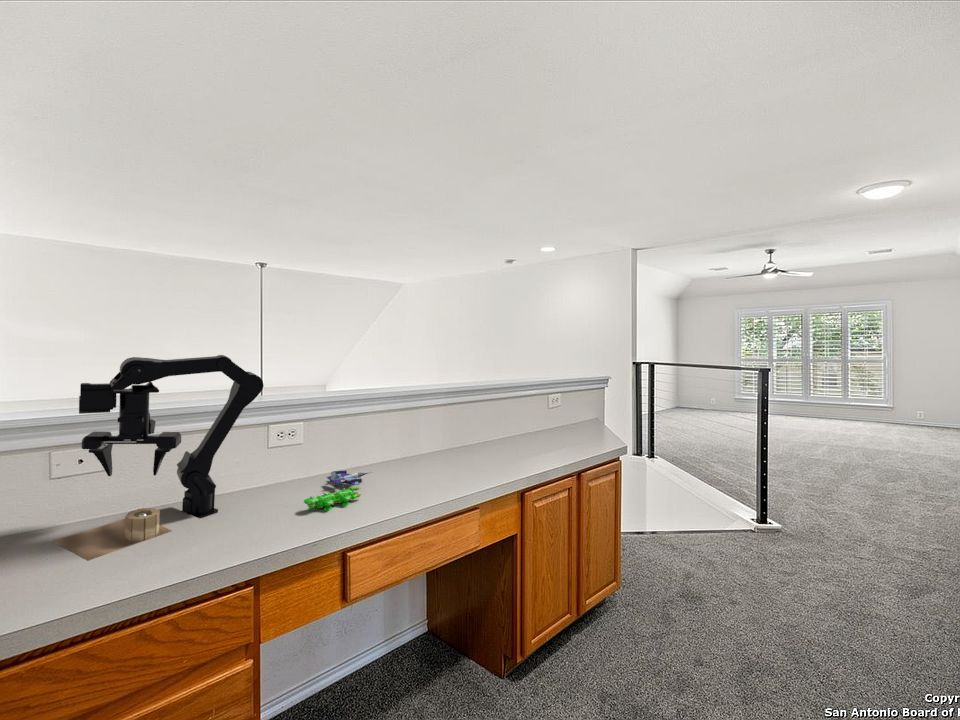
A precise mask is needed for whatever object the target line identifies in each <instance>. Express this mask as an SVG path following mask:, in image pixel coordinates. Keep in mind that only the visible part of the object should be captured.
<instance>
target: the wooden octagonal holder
mask: <svg viewBox="0 0 960 720" xmlns="http://www.w3.org/2000/svg"><path fill="white" fill-rule="evenodd" d="M141 513H146V514H147V515H148V516H145V517H138V516H139V515H140V514H141ZM160 514H161V511H160V510H159V509H156V508H153V507H147V508H146V507H145V508H137V509H134V510H131V511H130V512H127V514H125V518H124V519H125V539H127V540H129V541H143V540H145V541H148V540H151V539H153V538H156V537H155V536H157V534H158V533H159V525H160ZM157 537H158V536H157ZM143 542H144V541H143Z"/></svg>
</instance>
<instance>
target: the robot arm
mask: <svg viewBox="0 0 960 720" xmlns="http://www.w3.org/2000/svg"><path fill="white" fill-rule="evenodd" d="M215 372H216V373H217V372H218V373H219V372H220V373H223V375H225V376H227V377H228V378H229V379H230V380H232V381H233V383H232V385H231V388H230V391H229V395H228V399H227V400H226V403H225V404H224V406H223V407H222V409H221V411H220V412H219V414H218V415H217V417H216V418H215V420H214V421H213V424H212V425H211V426H210V428H209V429H208V431H207V433H206V434H205V436H204V437H203V439H202V440H201V442H200V444H199V445H198V447H197V448H196V449H195V450H194V451H192V452H191V453H190V452H189V451H188V450H187V451H185V452H184V454H183V456H182V458H181V460H180V461H179V462H178V463H177V464H176V466H177V470H176V475H177V478H178V479H179V482H180V484H181V485H182V487H184V488H186V489H187V490H185V491H184V495H183V497H182V509H181V512H182V513H184V514H185V513H186V514H188V515H190V516H192V517H195V518H197V519H201V518H204V517H207V516H209V515H212V514H214V513H218V512H219V509H218V508H216V507H215V499H216V498H215V495H216V494H215V493H216V489H217V485H216V484H215V482H214V481H213V479H212V477H211V476H210V471H211V468H212V465H213V460H214V458H215V455H216V454H217V452H218V450H219V448H220V447H221V445H222V444H223V442H225V440H226V437H227V435H228V434H229V433H230V431H231V430H232V428H233V426H234V425H235V423H236V421H237V420H238V418H239V416H241V413H242V412H243V410H244V409H245V408H246V407H247V406H249V405H250V404H251V403H252V402H253V401H254V400H255V399H256V398H257V397H258V396H259V395H260V393H262V391H263V389H264V384H265V383H264V381H263V379H262V378H261V377H260V376H259V375H257V374H255V373H253V372H252V371H246V370H244V369H243V368H241V367H240V365H238V364H237V363H235V362H233V361H232V359H231V358H230V357H228V356H226V355H225V354H217V355H214V356H201V357H188V358H187V357H185V358H174V359H159V358H152V357H150V358H149V357H141V356H140V357H137V356H133V357H128V358H126V359H124V360H123V361H122V362H121V363H120V366H119V371H118V373H116V375H115V376H114V377H113V378H111V380H110V381H109V383H90V382H82V383H80V388H79V389H80V390H79V391H80V393H79V396H78V398H79V399H78V414H79V415H81V414H82V415H83V414H101V413H103V414H104V413H111V410H114V409H116V408H117V394H119V415H118V416H119V417H117V423H119V424H118V435H112V433H111V431H92V432H90V433H89V434H87V435H86V436H84V437H83V438H82V440H81V449H82V450H88V453H89V454H90V453H91V454H93V455H94V456H95V458H97V460H98V462H99V463H100V464H101V465H102V467H103V470H104V472H105V473H106V475H107V477H112V475H113V458H112V457H113V455H112V450H113V445H156V446H155V447H157V448H156V449H155V450H154V455H153V456H154V457H153V467H152V471H153V476H157V475H158V472H159V469H160V468H161V465H162V462H163V460H164V457H165V456H166V454H167V453H170V452H171V451H172V450H174V449H177V447H178V446H179V445H180V444H181V443H182V434H181V433H180V432H179V431H162V432H161V433H160V434H159V435H154V434H155V429H156V420H155V419H153V418H151V413H150V393H151V394H152V393H153V394H154V393H155V394H156V393H160V389H159V388H158V386H155V385H154V384H153V382H155V381H157V380H161V379H163V378H167V377H174V376H175V377H176V376H184V375H185V376H186V375H197V374H208V373H215ZM130 386H131V387H130ZM129 387H130V388H129ZM151 434H153V435H151Z"/></svg>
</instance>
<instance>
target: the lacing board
mask: <svg viewBox="0 0 960 720" xmlns="http://www.w3.org/2000/svg"><path fill="white" fill-rule="evenodd" d="M170 532H173V530H172V529H170V528H167V527H165V526H163V525H161V524H159V533H158V534H157V536H155V537H154V538H156V537H159V536H163V535H165V534H168V533H170ZM145 541H146V540H143V541H129V540H127V539H125V518H124V519H119V520H117V521H114V522H111V523H107V524H104V525H101V526H97V527H93V528H90V529H87V530H84V531H81V532H78V533H77V532H76V533H74V534H71V535H68V536H65V537H62V538H58V539H55V540H52V542H53V543H55V544H57V545H58V546H60V547H62V548H64V549H65V550H67V551H69V552H71V553H73V554H74V555H76V556H79V557H80V558H82V559H84V560H86V561H91V560H94V559H97V558H99V557H103V556H105V555H108V554H110V553H113V552H116V551H119V550H120V551H121V550H122V549H123V550H124V549H125V548H129V547H130V546H134V545H136V544H139V543H142V542H145Z"/></svg>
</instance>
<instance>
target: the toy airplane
mask: <svg viewBox="0 0 960 720" xmlns="http://www.w3.org/2000/svg"><path fill="white" fill-rule="evenodd" d="M371 473H373V471H372V472H370V474H371ZM368 474H369V472H363V471H358V472H356V473H353V474H351V473H348V471H347V470H335V471H331V474H330V476H326V478H327V479H328V480H329V481H330V482H332V483H334V486H337V485H341V484H342V485H341V487H340V488H341V490H343V488H345V485H344V484H346V485H352V486H359V485H360V483H362V481H363V479H362V478H361V477H363V476H365V475H368Z"/></svg>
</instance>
